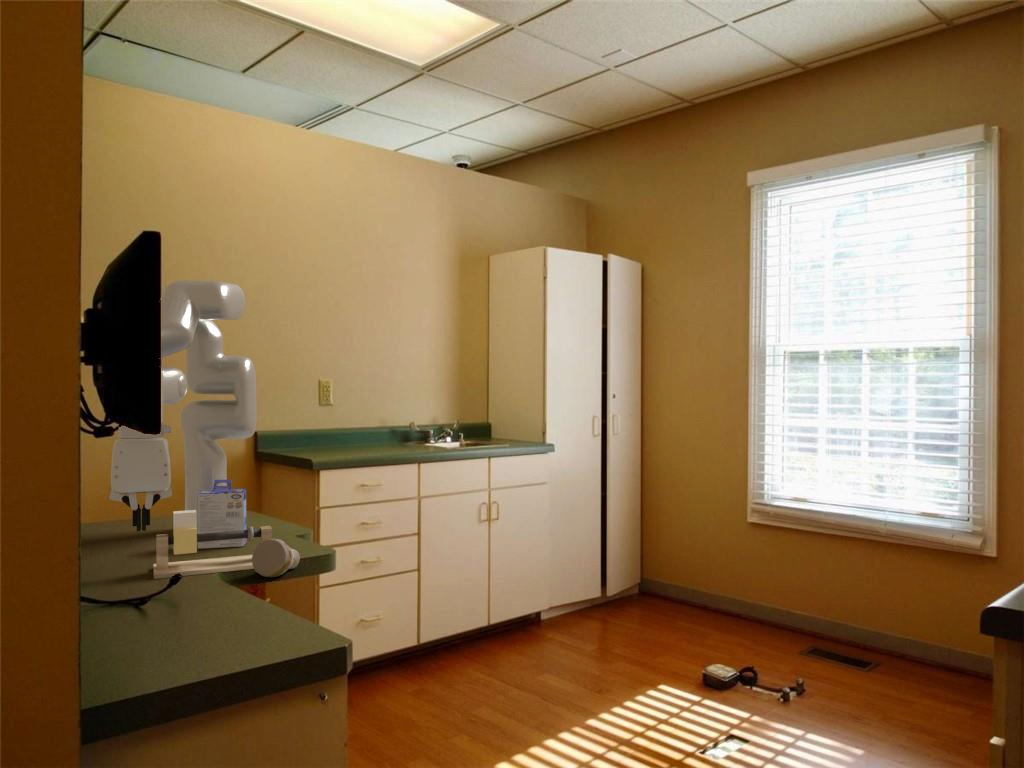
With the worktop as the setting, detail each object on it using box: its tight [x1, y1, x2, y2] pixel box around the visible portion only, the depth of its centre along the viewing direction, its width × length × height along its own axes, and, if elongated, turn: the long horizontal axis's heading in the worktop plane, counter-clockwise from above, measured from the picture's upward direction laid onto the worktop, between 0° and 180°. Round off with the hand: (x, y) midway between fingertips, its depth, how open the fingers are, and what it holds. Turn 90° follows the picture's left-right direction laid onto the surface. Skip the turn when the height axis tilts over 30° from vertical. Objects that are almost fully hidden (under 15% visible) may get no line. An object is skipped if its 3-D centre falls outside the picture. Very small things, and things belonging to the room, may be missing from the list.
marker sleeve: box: [172, 510, 198, 556], centre depth 148 cm, size 5×4×8 cm
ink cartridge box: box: [197, 479, 247, 550], centre depth 170 cm, size 10×6×14 cm, turn 105°
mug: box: [252, 538, 301, 578], centre depth 146 cm, size 8×10×10 cm
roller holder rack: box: [152, 525, 273, 580], centre depth 150 cm, size 9×22×7 cm, turn 115°
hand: (141, 529), depth 145 cm, fingers closed
